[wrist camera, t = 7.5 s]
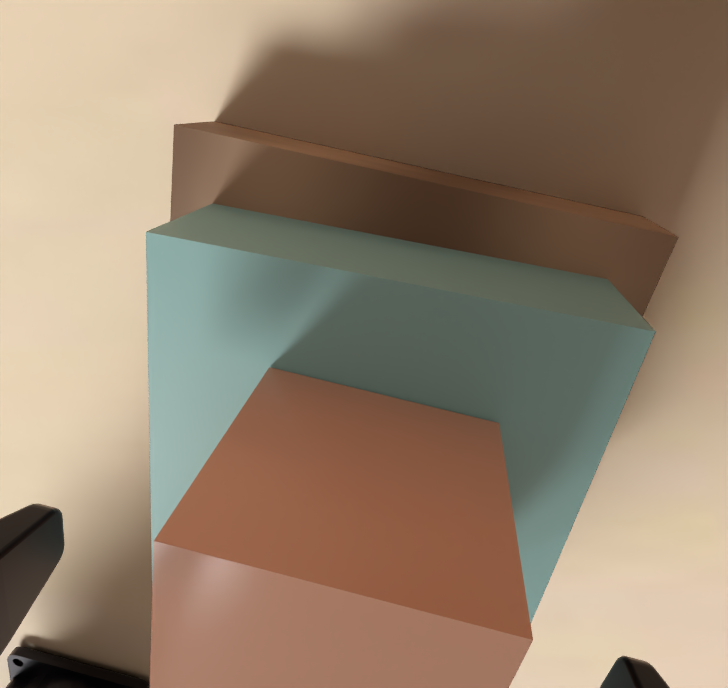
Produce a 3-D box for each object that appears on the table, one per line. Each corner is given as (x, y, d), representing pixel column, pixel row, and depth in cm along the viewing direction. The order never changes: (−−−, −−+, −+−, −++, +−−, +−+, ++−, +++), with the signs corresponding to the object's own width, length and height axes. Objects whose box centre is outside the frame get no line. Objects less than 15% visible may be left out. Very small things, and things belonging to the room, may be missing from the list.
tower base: (200, 448, 19) (159, 506, 16) (225, 120, 14) (174, 124, 12) (504, 525, 19) (514, 597, 16) (633, 211, 14) (678, 236, 11)
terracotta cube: (246, 536, 12) (147, 751, 8) (269, 366, 10) (153, 540, 6) (439, 586, 12) (434, 832, 8) (499, 423, 10) (532, 640, 6)
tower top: (201, 503, 16) (152, 585, 13) (212, 203, 12) (146, 231, 10) (499, 571, 16) (510, 670, 13) (607, 279, 12) (655, 332, 9)
